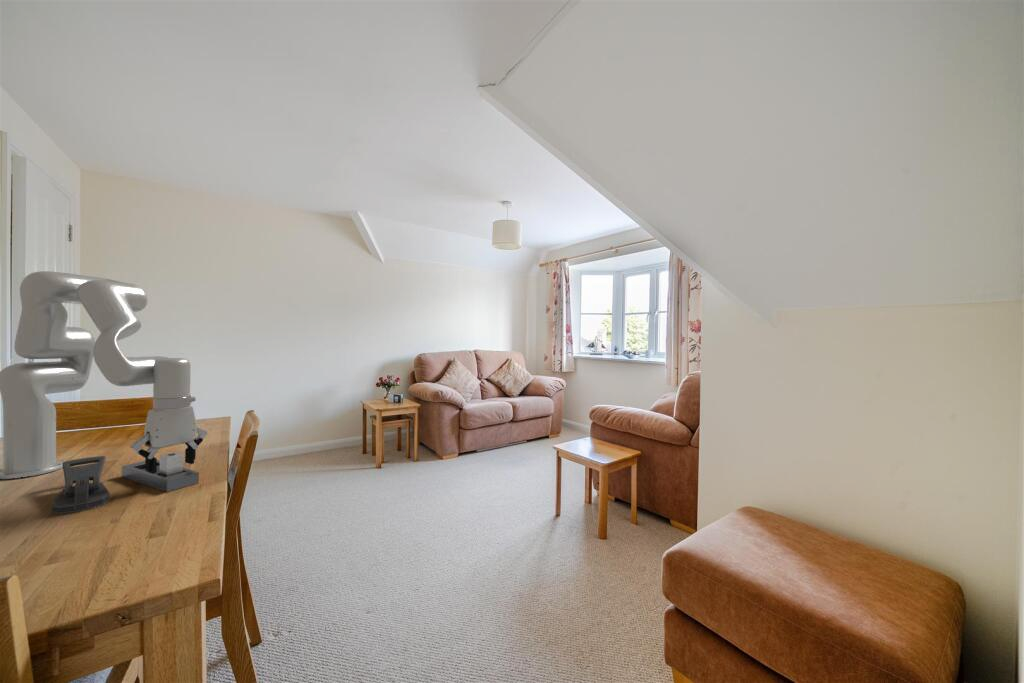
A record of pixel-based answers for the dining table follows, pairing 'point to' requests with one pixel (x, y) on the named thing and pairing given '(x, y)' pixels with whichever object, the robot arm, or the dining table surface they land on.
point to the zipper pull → (81, 486)
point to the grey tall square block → (171, 464)
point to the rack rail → (159, 477)
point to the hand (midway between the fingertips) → (171, 467)
